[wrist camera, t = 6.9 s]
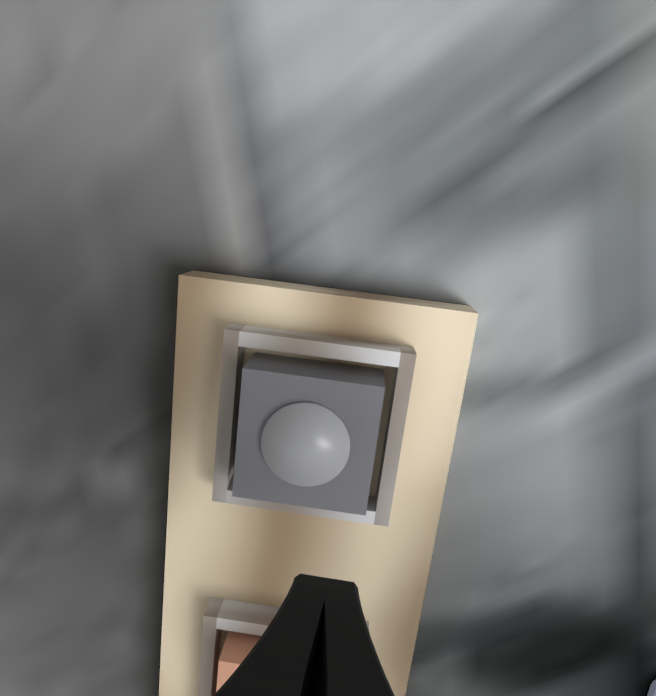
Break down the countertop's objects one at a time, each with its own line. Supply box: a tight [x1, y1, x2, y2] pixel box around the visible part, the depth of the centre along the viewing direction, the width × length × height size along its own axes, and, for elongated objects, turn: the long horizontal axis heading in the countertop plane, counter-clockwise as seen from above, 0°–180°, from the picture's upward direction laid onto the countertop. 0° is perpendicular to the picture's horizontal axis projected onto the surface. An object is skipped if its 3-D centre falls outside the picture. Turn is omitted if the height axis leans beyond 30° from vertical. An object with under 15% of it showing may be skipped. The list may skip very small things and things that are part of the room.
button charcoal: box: [232, 352, 385, 516], centre depth 18 cm, size 4×4×2 cm
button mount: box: [159, 270, 479, 696], centre depth 20 cm, size 10×20×2 cm, turn 173°
